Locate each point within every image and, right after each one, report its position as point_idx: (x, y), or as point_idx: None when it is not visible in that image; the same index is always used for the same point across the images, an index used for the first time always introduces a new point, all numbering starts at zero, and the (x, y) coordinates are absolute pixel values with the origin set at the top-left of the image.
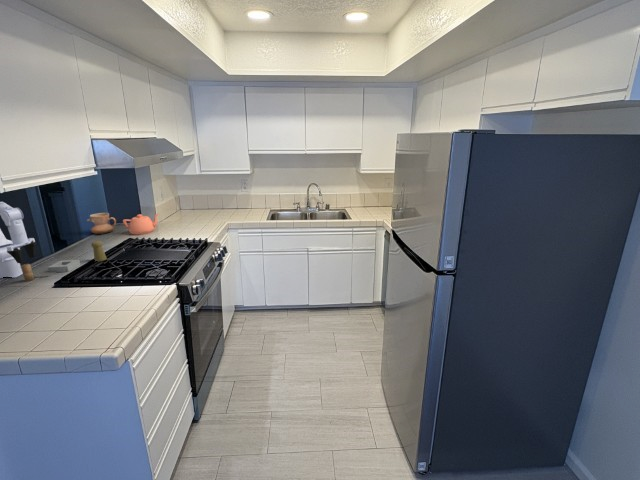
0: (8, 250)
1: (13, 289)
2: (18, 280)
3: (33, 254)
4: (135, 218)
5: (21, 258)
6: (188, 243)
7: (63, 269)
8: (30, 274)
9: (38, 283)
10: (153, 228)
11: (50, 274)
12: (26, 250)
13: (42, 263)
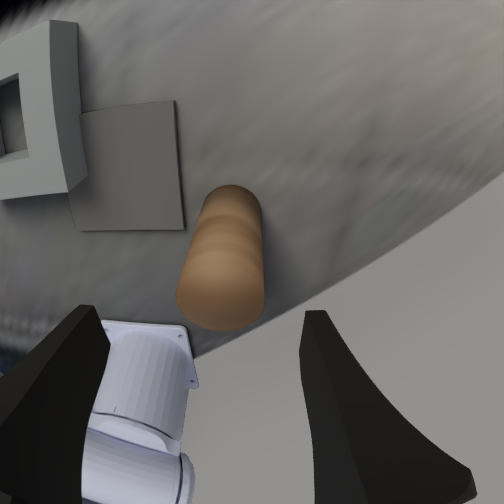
0: None
1: (397, 208)
2: None
3: (72, 335)
4: None
5: (347, 359)
6: None
7: (66, 57)
8: (240, 210)
9: (324, 87)
10: None
11: (137, 113)
12: (83, 437)
13: (12, 315)
